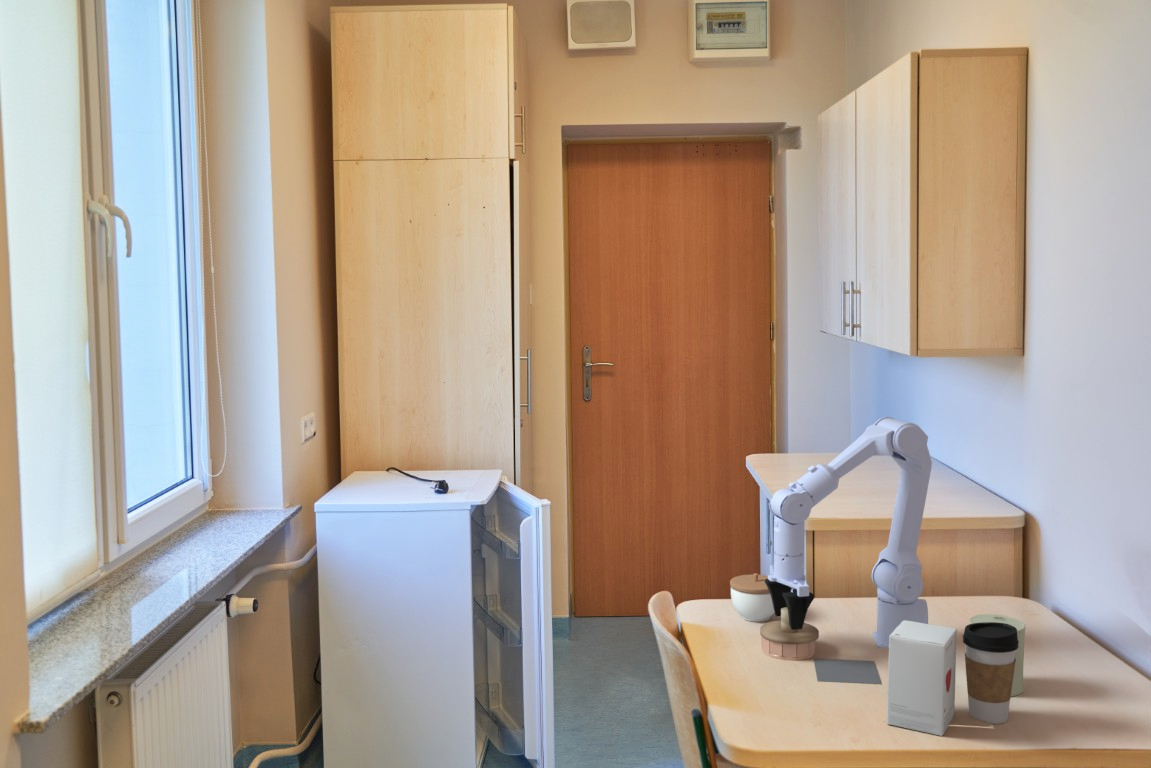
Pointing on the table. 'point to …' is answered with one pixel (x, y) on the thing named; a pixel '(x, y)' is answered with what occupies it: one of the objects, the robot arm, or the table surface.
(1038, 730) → the table surface
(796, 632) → the lid
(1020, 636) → the can
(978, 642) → the coffee cup
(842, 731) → the table surface
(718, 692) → the table surface
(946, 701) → the supplement box
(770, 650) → the dish
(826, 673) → the mat
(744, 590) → the lidded jar
